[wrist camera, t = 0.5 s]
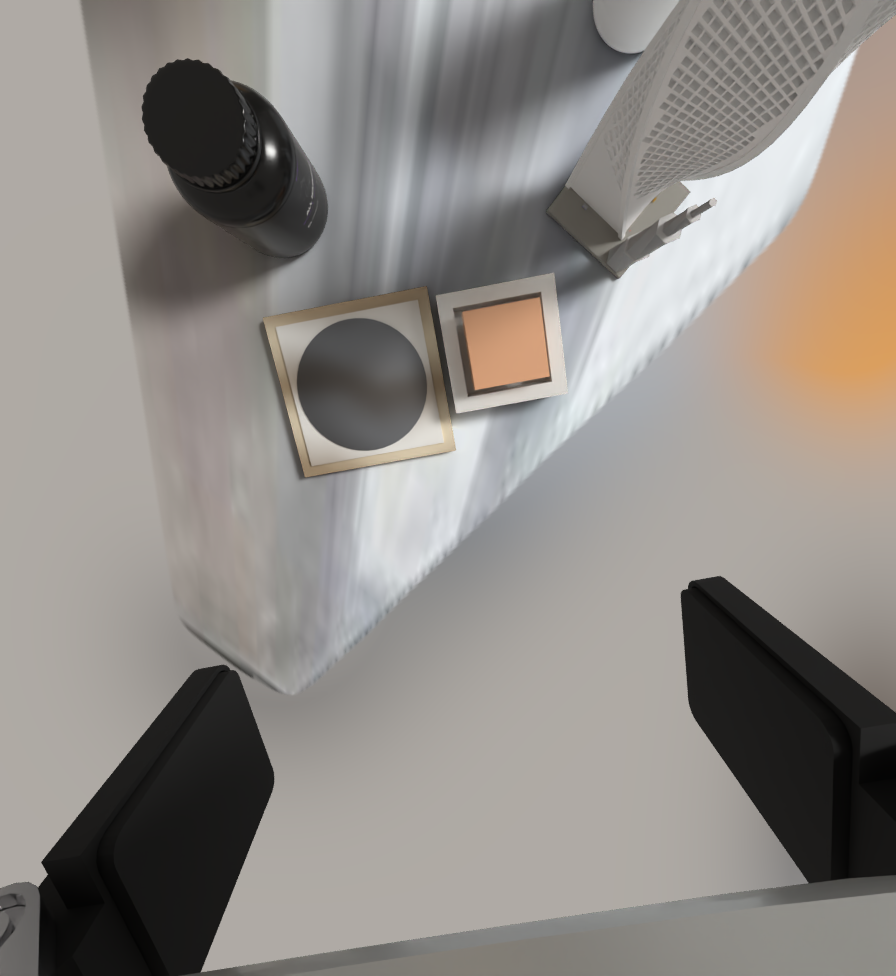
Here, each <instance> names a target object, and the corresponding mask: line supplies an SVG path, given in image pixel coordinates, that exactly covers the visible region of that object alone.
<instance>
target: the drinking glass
mask: <svg viewBox="0 0 896 976" xmlns="http://www.w3.org/2000/svg"><path fill="white" fill-rule="evenodd" d="M679 1H680V0H593V16H594V21H595V25H596V28H597V30H598V33H599V34H600V36H601V38H602V39H603V40H604V42H605V43H606V44H607V45H608V46H610V47H611V48H613V49H614V50H616V51H619V52H622V53H629V54H631V53H638V52H642V51H644V50H645V49H646V47H647V46H648V44H649V43H650V41H651V40H652V39H653V37H654V36H655V34H656V33H657V31H658V30H659V29H660V27H661V26H662V24H663V23H664V21H665V20H666V19H667V17H668V16H669V14H670V13H671V11H672V10H673V9H674V7H675V6H676V5H677V3H678V2H679Z"/></svg>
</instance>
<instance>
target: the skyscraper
mask: <svg viewBox="0 0 896 976" xmlns="http://www.w3.org/2000/svg"><path fill="white" fill-rule="evenodd" d="M895 15H896V0H680V1H679V2H678V3H677V5H676V6H675V7H674V9H673V10H672V11H671V13H670V14H669V16H668V17H667V19H666V20H665V21H664V23H663V24H662V26H661V27H660V29H659V30H658V31H657V33H656V34H655V36H654V37H653V39H652V40H651V41H650V43H649V44H648V46H647V47H646V49H645V50H644V52H643V54H642V55H641V57H640V58H639V60H638V61H637V63H636V64H635V66H634V67H633V69H632V70H631V72H630V73H629V75H628V77H627V78H626V80H625V81H624V83H623V85H622V86H621V88H620V90H619V91H618V93H617V95H616V96H615V98H614V100H613V101H612V103H611V104H610V106H609V108H608V109H607V111H606V113H605V114H604V116H603V118H602V120H601V121H600V123H599V125H598V127H597V128H596V130H595V132H594V134H593V135H592V137H591V139H590V141H589V142H588V144H587V146H586V148H585V150H584V152H583V153H582V155H581V157H580V159H579V161H578V163H577V164H576V166H575V168H574V170H573V172H572V174H571V175H570V177H569V179H568V181H567V183H566V185H565V186H564V188H563V190H562V191H561V192H560V194H559V195H558V196H557V198H556V199H555V200H554V202H553V203H552V204H551V205H550V207H549V208H548V209H547V211H546V212H547V213H548V214H549V215H550V216H551V217H552V218H553V219H554V220H555V221H556V222H557V223H558V224H559V225H561V226H562V227H563V228H564V229H565V230H566V231H567V232H568V233H569V234H570V235H571V236H572V237H573V238H575V239H576V240H577V241H578V242H579V243H580V244H581V245H582V246H583V247H584V248H585V249H586V250H588V251H589V252H590V253H591V254H592V255H593V256H594V257H595V258H596V259H597V260H598V261H599V262H600V263H602V264H603V265H604V266H605V267H606V268H607V269H608V270H609V271H610V272H611V273H612V274H613V275H614V276H616V277H617V278H618V279H619V278H620V277H621V276H622V275H623V274H624V272H625V271H626V270H627V269H628V268H629V266H631V265H632V264H634V263H635V262H637V261H640V260H642V259H645V258H647V257H649V254H650V253H652V252H653V251H655V250H657V249H658V248H660V247H661V246H663V245H665V244H667V243H669V242H671V241H674V240H676V239H679V238H680V235H681V231H682V229H683V228H684V227H686V226H688V225H689V224H691V223H693V222H695V221H698V220H700V217H701V213H703V212H704V211H706V210H708V209H709V208H711V207H713V206H715V205H716V202H717V200H716V199H715V198H713V199H710V200H709V201H708V202H706V203H705V204H703V205H701V206H699V207H698V206H697V205H694V206H691V207H689V208H687V209H686V210H685V211H684V212H682V213H681V214H679V215H676V214H675V213H674V211H675V210H676V209H677V208H678V207H679V205H680V204H681V203H682V202H683V200H684V199H685V198H686V197H687V196H688V194H689V193H690V191H689V190H688V189H687V188H686V187H685V186H684V185H683V184H682V183H681V182H680V181H688V180H700V179H707V178H712V177H716V176H720V175H722V174H725V173H728V172H730V171H733V170H735V169H737V168H739V167H741V166H743V165H744V164H746V163H747V162H749V161H750V160H752V159H754V158H755V157H757V156H758V155H759V154H760V153H762V152H763V151H764V150H765V149H766V148H768V147H769V146H770V145H771V144H773V143H774V142H775V140H776V139H777V138H778V137H779V136H780V135H781V134H782V133H783V132H784V131H785V130H786V129H787V128H788V127H789V126H790V125H791V124H792V123H793V121H794V120H795V119H796V118H797V117H798V115H799V114H800V113H801V112H802V111H803V110H804V108H805V107H806V106H807V105H808V103H809V102H810V101H811V99H812V98H813V96H814V95H815V94H816V92H817V91H818V90H819V88H820V87H821V86H822V84H823V83H824V82H825V80H826V79H827V77H828V76H829V75H830V74H831V73H832V72H833V71H834V70H835V69H836V68H837V67H838V66H839V65H840V64H841V63H842V62H843V61H844V60H845V59H846V58H847V57H848V56H849V55H850V54H851V53H852V52H853V51H854V50H856V49H857V48H858V47H859V46H860V45H861V44H862V43H863V42H864V41H865V40H867V38H869V37H870V36H871V35H872V34H873V33H874V32H876V31H877V30H878V29H879V28H880V27H881V26H882V25H884V24H885V23H886V22H887V21H888V20H890V19H891V18H892V17H893V16H895Z"/></svg>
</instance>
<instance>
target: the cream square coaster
mask: <svg viewBox="0 0 896 976" xmlns="http://www.w3.org/2000/svg"><path fill="white" fill-rule="evenodd" d="M263 321H264V324H265V328H266V332H267V336H268V339H269V343H270V347H271V351H272V355H273V358H274V362H275V366H276V370H277V373H278V377H279V381H280V385H281V389H282V392H283V396H284V400H285V404H286V407H287V411H288V415H289V419H290V423H291V426H292V430H293V434H294V438H295V441H296V445H297V449H298V453H299V457H300V460H301V464H302V468H303V472H304V475H305V477H310V476H316V475H321V474H327V473H333V472H338V471H344V470H349V469H355V468H360V467H366V466H372V465H377V464H383V463H388V462H394V461H399V460H405V459H411V458H416V457H422V456H427V455H433V454H438V453H444V452H450V451H455V450H456V447H455V442H454V436H453V430H452V425H451V419H450V414H449V408H448V402H447V397H446V391H445V386H444V380H443V374H442V369H441V363H440V358H439V352H438V346H437V341H436V335H435V330H434V324H433V318H432V313H431V307H430V302H429V296H428V290H427V286H425V287H420V288H414V289H409V290H404V291H399V292H394V293H389V294H383V295H378V296H373V297H368V298H363V299H357V300H352V301H347V302H342V303H337V304H332V305H326V306H321V307H316V308H311V309H306V310H301V311H295V312H290V313H285V314H280V315H275V316H270V317H264V318H263Z"/></svg>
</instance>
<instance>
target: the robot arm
mask: <svg viewBox="0 0 896 976" xmlns="http://www.w3.org/2000/svg"><path fill="white" fill-rule="evenodd" d="M681 605H682V606H681V607H682V620H683V634H684V646H685V661H686V674H687V687H688V700H689V705H690V708H691V711H692V714H693V716H694V718H695V720H696V721H697V723H698V724H699V726H700V727H701V729H702V730H703V731H704V733H705V734H706V736H707V737H708V739H709V740H710V742H711V743H712V744H713V746H714V747H715V749H716V750H717V752H718V753H719V754H720V756H721V757H722V759H723V760H724V761H725V763H726V764H727V766H728V767H729V769H730V770H731V772H732V773H733V774H734V776H735V777H736V779H737V780H738V782H739V783H740V785H741V786H742V788H743V789H744V790H745V792H746V793H747V794H748V796H749V798H750V799H751V800H752V802H753V803H754V805H755V806H756V808H757V809H758V811H759V812H760V813H761V815H762V816H763V818H764V819H765V821H766V822H767V824H768V825H769V826H770V828H771V829H772V831H773V832H774V833H775V835H776V836H777V838H778V839H779V841H780V842H781V844H782V845H783V846H784V848H785V849H786V851H787V852H788V854H789V855H790V857H791V858H792V859H793V861H794V862H795V864H796V865H797V867H798V868H799V869H800V871H801V872H802V874H803V875H804V877H805V878H806V880H807V881H808V882H809V883H808V884H801V885H792V886H785V887H776V888H768V889H760V890H752V891H744V892H736V893H728V894H721V895H714V896H707V897H700V898H693V899H686V900H679V901H672V902H666V903H659V904H651V905H644V906H638V907H630V908H623V909H616V910H610V911H602V912H596V913H588V914H582V915H575V916H568V917H561V918H554V919H548V920H541V921H534V922H527V923H520V924H514V925H507V926H500V927H493V928H487V929H480V930H473V931H466V932H460V933H453V934H446V935H440V936H433V937H427V938H420V939H413V940H407V941H400V942H394V943H387V944H380V945H374V946H368V947H361V948H354V949H347V950H342V951H334V952H329V953H322V954H315V955H309V956H303V957H296V958H290V959H284V960H277V961H271V962H265V963H259V964H252V965H246V966H240V967H233V968H227V969H221V970H214V971H207V972H201V970H202V967H203V965H204V962H205V960H206V957H207V955H208V952H209V949H210V947H211V945H212V942H213V939H214V937H215V935H216V932H217V929H218V927H219V924H220V922H221V919H222V917H223V914H224V912H225V909H226V907H227V904H228V902H229V899H230V897H231V894H232V891H233V889H234V887H235V884H236V882H237V879H238V876H239V874H240V871H241V869H242V866H243V864H244V861H245V859H246V856H247V854H248V851H249V848H250V846H251V843H252V841H253V839H254V836H255V834H256V831H257V829H258V826H259V823H260V821H261V818H262V816H263V813H264V810H265V808H266V806H267V803H268V801H269V798H270V796H271V793H272V790H273V786H274V772H273V768H272V766H271V763H270V760H269V757H268V754H267V752H266V749H265V746H264V743H263V741H262V738H261V735H260V732H259V729H258V727H257V724H256V721H255V719H254V716H253V713H252V710H251V707H250V705H249V702H248V699H247V697H246V694H245V691H244V688H243V685H242V683H241V680H240V677H239V675H238V673H237V672H236V671H234V670H230V669H229V667H228V666H226V665H219V666H213V667H208V668H202V669H198V670H195V671H194V672H193V673H192V674H191V675H190V677H189V678H188V679H187V680H186V682H185V683H184V684H183V685H182V687H181V688H180V689H179V690H178V692H177V693H176V694H175V695H174V697H173V698H172V699H171V701H170V702H169V703H168V704H167V705H166V707H165V708H164V709H163V710H162V712H161V713H160V714H159V715H158V717H157V718H156V719H155V720H154V722H153V723H152V724H151V725H150V727H149V728H148V729H147V731H146V732H145V733H144V734H143V735H142V737H141V738H140V739H139V740H138V742H137V743H136V744H135V745H134V747H133V748H132V749H131V750H130V752H129V753H128V754H127V755H126V757H125V758H124V759H123V760H122V762H121V763H120V764H119V766H118V767H117V768H116V769H115V770H114V772H113V773H112V774H111V775H110V777H109V778H108V779H107V780H106V782H105V783H104V784H103V785H102V787H101V788H100V789H99V790H98V792H97V793H96V794H95V796H94V797H93V798H92V799H91V800H90V802H89V803H88V804H87V805H86V807H85V808H84V809H83V811H82V812H81V813H80V814H79V815H78V817H77V818H76V819H75V820H74V822H73V823H72V824H71V826H70V827H69V828H68V829H67V830H66V832H65V833H64V834H63V836H62V837H61V838H60V839H59V841H58V842H57V843H56V844H55V846H54V847H53V848H52V849H51V851H50V852H49V853H48V854H47V856H46V857H45V858H44V859H43V861H42V862H41V863H42V864H43V866H44V868H45V870H46V872H47V873H48V875H47V877H46V878H45V879H44V881H43V882H42V883H41V885H40V886H39V887H37V886H36V885H34V884H32V883H29V882H22V883H14V884H11V885H8V886H6V887H3V888H0V976H896V713H895V712H894V711H893V710H891V709H890V708H889V707H888V706H886V705H885V704H884V703H883V702H881V701H880V700H879V699H877V698H876V697H875V696H874V695H872V694H871V693H870V692H869V691H867V690H866V689H865V688H863V687H862V686H861V685H860V684H858V683H857V682H856V681H855V680H853V679H852V678H851V677H849V676H848V675H847V674H846V673H844V672H843V671H842V670H841V669H839V668H838V667H837V666H835V665H834V664H833V663H832V662H830V661H829V660H828V659H827V658H825V657H824V656H823V655H821V654H820V653H819V652H818V651H816V650H815V649H814V648H813V647H811V646H810V645H809V644H807V643H806V642H805V641H803V640H802V639H801V638H800V637H799V636H797V635H796V634H795V633H793V632H792V631H791V630H790V629H788V628H787V627H786V626H784V625H783V624H782V623H781V622H779V621H778V620H777V619H776V618H774V617H773V616H772V615H770V614H769V613H768V612H767V611H765V610H764V609H763V608H762V607H760V606H759V605H758V604H756V603H755V602H754V601H753V600H751V599H750V598H749V597H748V596H746V595H745V594H744V593H742V592H741V591H740V590H739V589H737V588H736V587H735V586H733V585H732V584H731V583H730V582H728V581H727V580H726V579H725V578H723V577H721V576H717V577H711V578H706V579H700V580H695V581H691V582H690V583H689V585H688V589H686V590H683V591H682V592H681ZM200 972H201V973H200Z"/></svg>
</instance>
